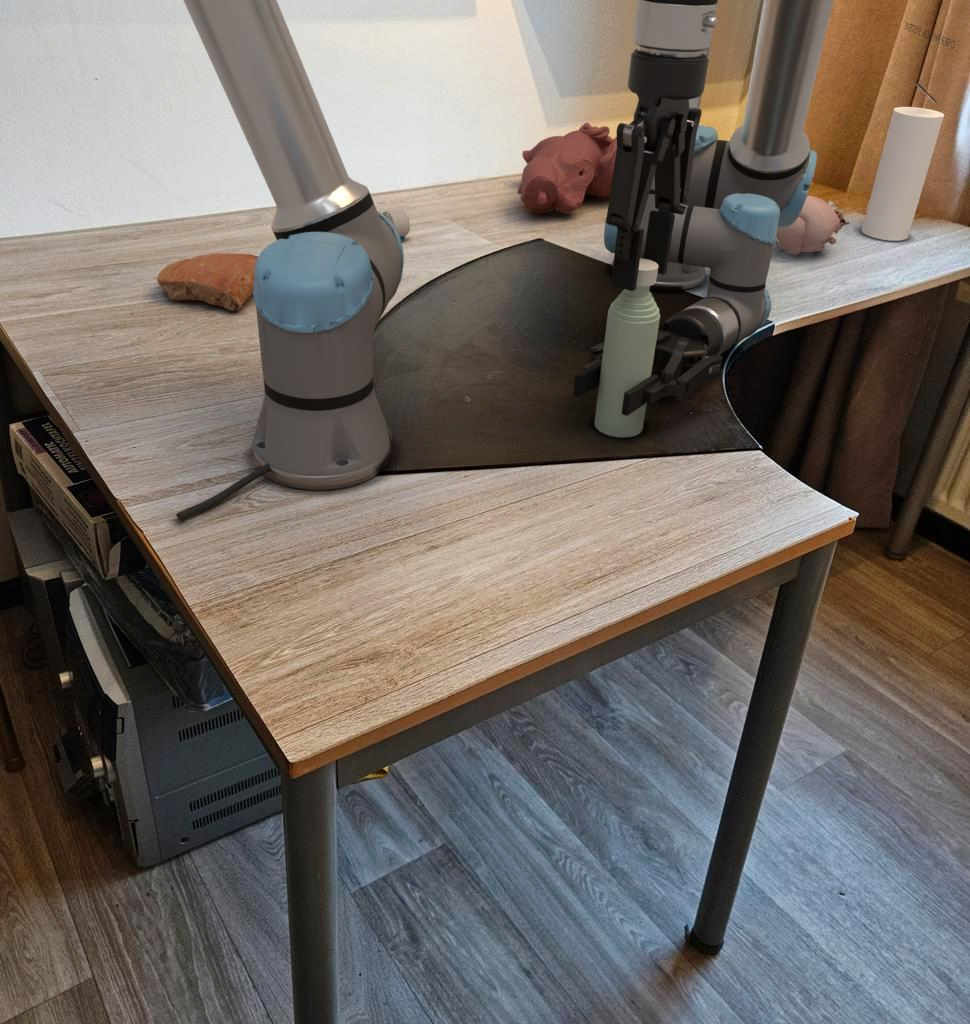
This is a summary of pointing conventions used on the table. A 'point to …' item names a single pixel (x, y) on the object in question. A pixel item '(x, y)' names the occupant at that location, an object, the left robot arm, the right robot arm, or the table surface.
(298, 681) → the table surface
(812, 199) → the toy
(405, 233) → the electric motor
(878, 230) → the tall white cylinder
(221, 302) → the ceramic shard
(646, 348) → the bottle
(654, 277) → the cap
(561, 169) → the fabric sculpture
